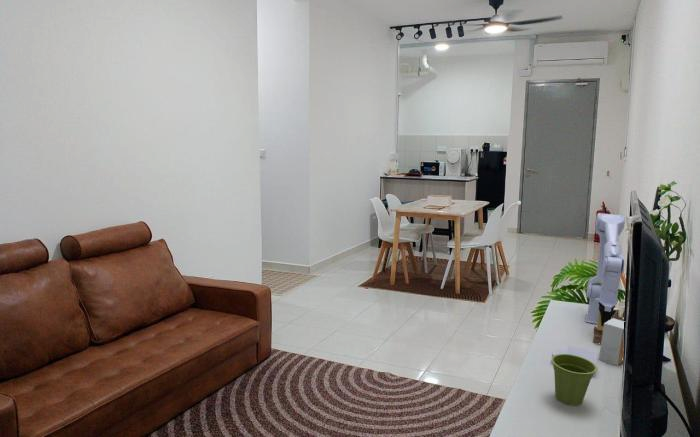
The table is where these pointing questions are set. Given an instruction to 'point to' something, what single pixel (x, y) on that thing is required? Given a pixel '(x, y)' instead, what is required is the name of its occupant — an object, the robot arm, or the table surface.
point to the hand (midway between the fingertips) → (604, 324)
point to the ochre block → (599, 323)
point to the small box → (612, 342)
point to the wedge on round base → (577, 353)
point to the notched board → (597, 335)
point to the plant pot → (572, 377)
